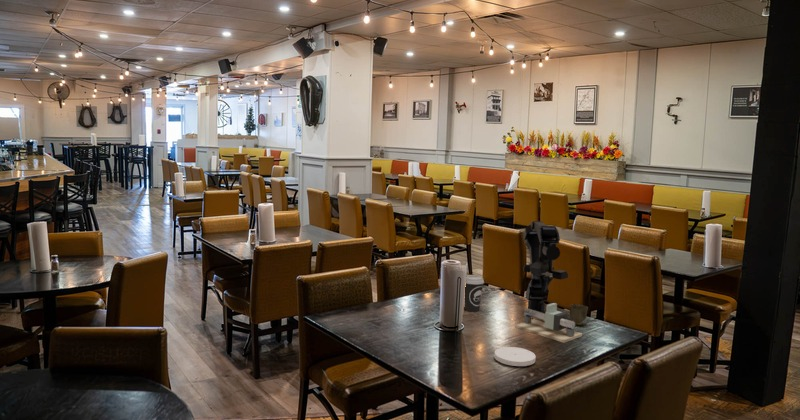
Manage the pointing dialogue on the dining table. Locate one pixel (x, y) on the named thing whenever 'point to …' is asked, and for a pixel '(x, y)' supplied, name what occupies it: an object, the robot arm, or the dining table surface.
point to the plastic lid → (515, 356)
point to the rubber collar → (557, 321)
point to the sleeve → (550, 315)
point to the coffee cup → (473, 293)
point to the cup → (578, 313)
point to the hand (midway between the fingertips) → (544, 291)
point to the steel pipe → (541, 316)
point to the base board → (547, 331)
